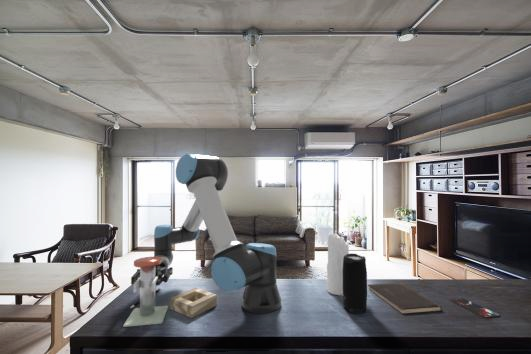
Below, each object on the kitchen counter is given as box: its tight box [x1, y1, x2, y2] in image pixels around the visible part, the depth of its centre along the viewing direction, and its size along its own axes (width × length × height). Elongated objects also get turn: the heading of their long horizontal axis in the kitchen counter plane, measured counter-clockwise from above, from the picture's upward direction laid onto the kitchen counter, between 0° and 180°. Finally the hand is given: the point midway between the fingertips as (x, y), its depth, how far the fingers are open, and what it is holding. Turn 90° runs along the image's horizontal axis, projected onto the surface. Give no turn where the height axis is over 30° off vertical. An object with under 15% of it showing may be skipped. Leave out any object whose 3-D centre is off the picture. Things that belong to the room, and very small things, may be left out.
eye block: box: [170, 287, 218, 319], centre depth 101 cm, size 12×12×4 cm
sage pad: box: [123, 305, 169, 328], centre depth 94 cm, size 12×12×1 cm
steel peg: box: [133, 256, 162, 316], centre depth 94 cm, size 9×9×18 cm
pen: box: [130, 287, 162, 309], centre depth 110 cm, size 1×19×1 cm, turn 167°
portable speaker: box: [342, 253, 368, 315], centre depth 99 cm, size 9×9×20 cm
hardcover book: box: [367, 282, 442, 314], centre depth 108 cm, size 16×23×2 cm
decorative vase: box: [325, 232, 350, 296], centre depth 117 cm, size 11×11×25 cm
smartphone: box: [448, 297, 501, 319], centre depth 100 cm, size 7×1×15 cm
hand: (143, 287), depth 89 cm, fingers closed on steel peg, 5 cm apart
